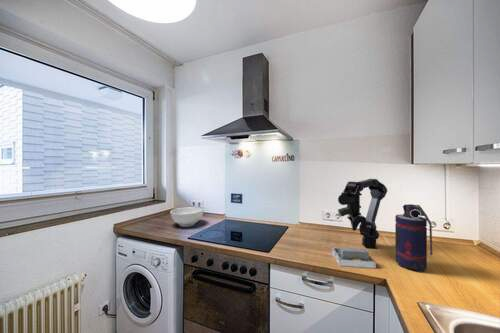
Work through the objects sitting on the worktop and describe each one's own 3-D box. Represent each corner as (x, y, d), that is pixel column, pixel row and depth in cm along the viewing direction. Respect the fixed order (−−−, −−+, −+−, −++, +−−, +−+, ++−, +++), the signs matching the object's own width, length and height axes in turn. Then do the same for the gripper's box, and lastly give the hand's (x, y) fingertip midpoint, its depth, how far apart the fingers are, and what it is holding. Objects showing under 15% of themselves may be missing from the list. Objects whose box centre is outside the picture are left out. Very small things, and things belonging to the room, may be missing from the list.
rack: (362, 254, 109) (362, 248, 109) (375, 268, 94) (375, 261, 94) (331, 252, 111) (331, 246, 111) (339, 265, 96) (339, 258, 96)
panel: (365, 260, 100) (365, 249, 100) (368, 264, 96) (368, 252, 96) (340, 259, 102) (340, 247, 102) (342, 262, 98) (342, 250, 98)
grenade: (393, 265, 96) (393, 204, 96) (397, 258, 104) (397, 201, 104) (431, 277, 86) (431, 209, 86) (433, 267, 95) (433, 205, 95)
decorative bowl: (162, 228, 155) (162, 212, 155) (183, 219, 181) (183, 206, 181) (192, 231, 147) (192, 215, 147) (209, 221, 173) (209, 208, 173)
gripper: (334, 200, 123) (334, 225, 123) (344, 206, 105) (344, 235, 104) (353, 200, 121) (353, 226, 121) (367, 206, 103) (366, 236, 103)
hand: (354, 230), depth 112 cm, fingers closed
